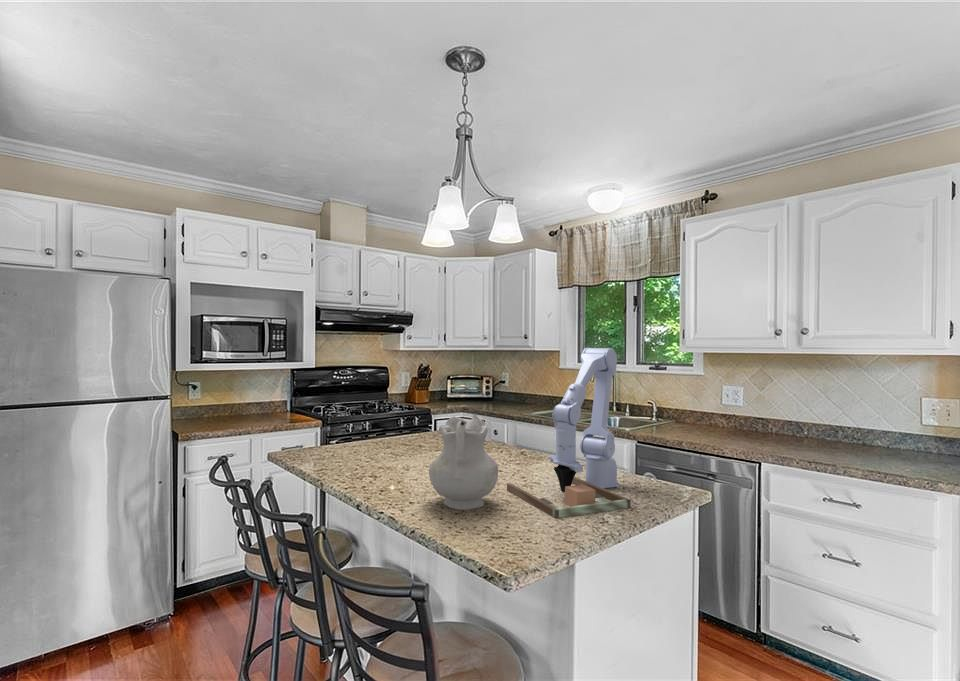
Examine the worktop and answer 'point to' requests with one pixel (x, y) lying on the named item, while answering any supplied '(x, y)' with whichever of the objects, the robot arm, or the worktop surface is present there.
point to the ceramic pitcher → (463, 464)
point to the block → (579, 495)
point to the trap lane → (556, 511)
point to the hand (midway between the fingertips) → (565, 491)
